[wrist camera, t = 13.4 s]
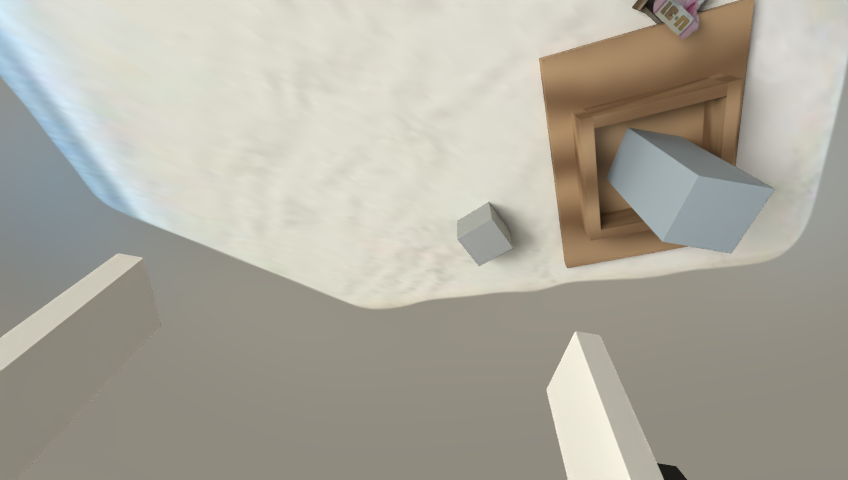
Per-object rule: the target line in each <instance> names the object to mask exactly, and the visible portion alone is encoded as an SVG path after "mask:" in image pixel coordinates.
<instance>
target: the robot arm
mask: <svg viewBox="0 0 848 480" xmlns="http://www.w3.org/2000/svg"><path fill="white" fill-rule="evenodd" d="M160 326H161V322H160V319H159V315H158V311H157V307H156V303H155V299H154V296H153V292H152V288H151V284H150V281H149V277H148V273H147V269H146V265H145V261H144V258H142V257H135V256H130V255H124V254H116V255H115V256H114V257H112V258H111V259H109V260H108V261H107V262H105V263H104V264H102V265H101V266H100V267H98V268H97V269H95V270H94V271H93V272H91V273H90V274H88V275H87V276H86V277H84V278H83V279H82V280H80V281H79V282H77V283H76V284H75V285H73V286H72V287H71V288H69V289H68V290H66V291H65V292H63V293H62V294H61V295H59V296H58V297H56V298H55V299H54V300H52V301H51V302H50V303H48V304H47V305H45V306H44V307H42V308H41V309H40V310H38V311H37V312H36V313H34V314H33V315H31V316H30V317H29V318H27V319H26V320H24V321H23V322H22V323H20V324H19V325H17V326H16V327H15V328H13V329H12V330H11V331H9V332H8V333H6V334H5V335H3V336H2V337H1V338H0V480H17V479H18V478H19V477H20V476H21V475H22V474H23V473H24V472H25V471H26V470H27V469H28V468H29V466H31V464H32V463H33V462H34V461H35V460H36V459H37V458H38V457H39V456H40V455H41V454H42V453H43V452H44V451H45V449H46V448H47V447H48V446H49V445H50V444H51V443H52V442H53V441H54V440H55V439H56V438H57V437H58V436H59V434H60V433H61V432H62V431H63V430H64V429H65V428H66V427H67V426H68V425H69V424H70V423H71V422H72V420H74V418H75V417H76V416H77V415H78V414H79V413H80V412H81V411H82V410H83V409H84V408H85V407H86V406H87V405H88V403H89V402H90V401H91V400H92V399H93V398H94V397H95V396H96V395H97V394H98V393H99V391H101V390H102V389H103V387H104V386H105V385H106V384H107V383H108V382H109V381H110V380H111V379H112V378H113V377H114V376H115V375H116V374H117V372H118V371H119V370H120V369H121V368H122V367H123V366H124V365H125V364H126V363H127V362H128V361H129V360H130V359H131V357H132V356H133V355H134V354H135V353H136V352H137V351H138V350H139V349H140V348H141V347H142V346H143V345H144V344H145V343H146V342H147V340H148V339H149V338H150V337H151V336H152V335H153V334H154V333H155V332H156V331H157V330H158V329H159V328H160ZM547 394H548V398H549V402H550V407H551V410H552V415H553V419H554V423H555V428H556V432H557V436H558V440H559V444H560V448H561V453H562V457H563V461H564V465H565V469H566V473H567V478H568V480H687V479H686V478H685V477H684V475H683V474H682V473H681V472H680V470H679V469H678V468H677V467H676V466H671V465H665V464H659V463H656V460H655V458H654V456H653V454H652V451H651V449H650V447H649V445H648V442H647V440H646V438H645V436H644V433H643V431H642V429H641V427H640V424H639V422H638V420H637V418H636V415H635V413H634V411H633V409H632V406H631V404H630V402H629V400H628V397H627V395H626V393H625V391H624V388H623V386H622V384H621V381H620V380H619V377H618V375H617V372H616V370H615V368H614V366H613V363H612V361H611V359H610V357H609V355H608V352H607V350H606V348H605V346H604V343H603V341H602V339H601V336H600V335H595V334H589V333H583V332H578V331H575V333H574V335H573V337H572V339H571V341H570V343H569V345H568V347H567V349H566V351H565V353H564V355H563V357H562V359H561V362H560V364H559V365H558V367H557V369H556V372H555V373H554V375H553V378H552V380H551V382H550V384H549V386H548V388H547Z"/></svg>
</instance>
